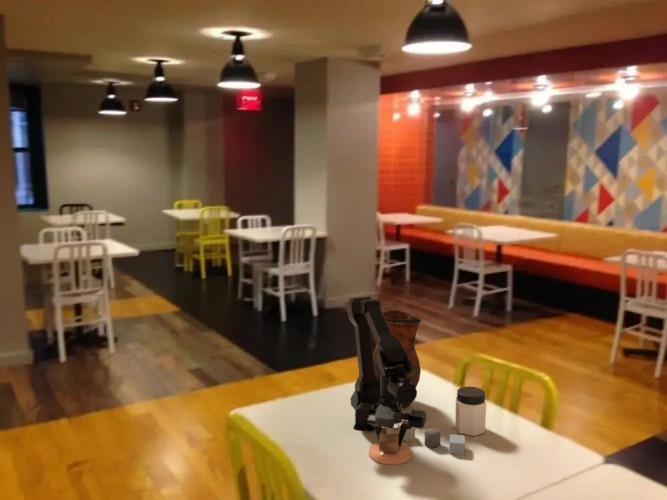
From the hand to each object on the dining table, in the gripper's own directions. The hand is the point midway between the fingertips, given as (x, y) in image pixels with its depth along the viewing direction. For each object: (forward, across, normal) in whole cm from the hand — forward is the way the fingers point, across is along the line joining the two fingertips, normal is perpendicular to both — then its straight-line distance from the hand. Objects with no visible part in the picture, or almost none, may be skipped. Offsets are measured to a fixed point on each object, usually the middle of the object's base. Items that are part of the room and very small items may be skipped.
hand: (390, 444), depth 172 cm
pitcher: (+3, -9, +35) cm, 36 cm away
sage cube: (+3, +2, +11) cm, 11 cm away
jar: (+3, +19, +22) cm, 29 cm away
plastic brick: (+3, +17, +8) cm, 19 cm away
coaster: (+3, 0, 0) cm, 3 cm away
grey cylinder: (+3, +10, +9) cm, 14 cm away
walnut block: (+1, 0, 0) cm, 1 cm away
